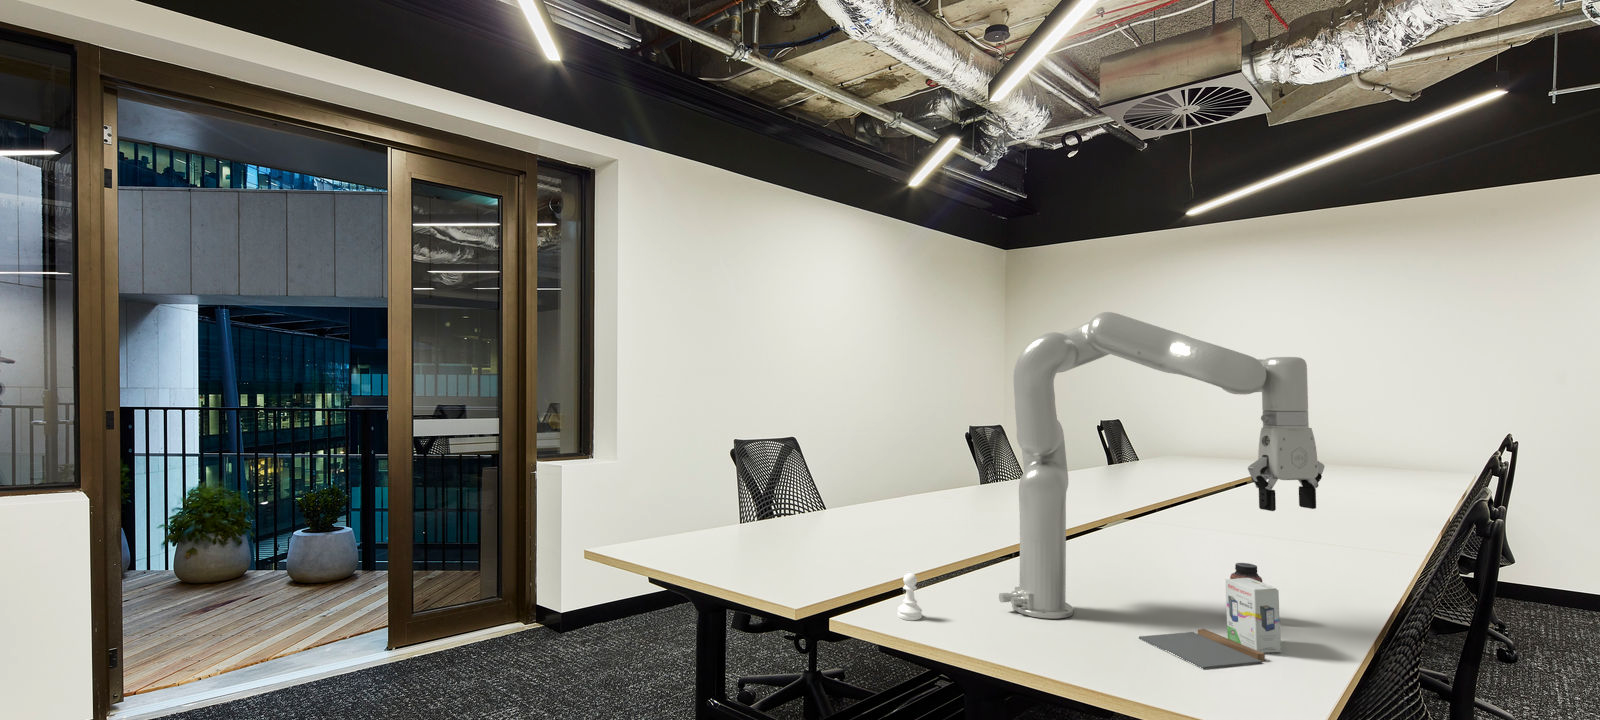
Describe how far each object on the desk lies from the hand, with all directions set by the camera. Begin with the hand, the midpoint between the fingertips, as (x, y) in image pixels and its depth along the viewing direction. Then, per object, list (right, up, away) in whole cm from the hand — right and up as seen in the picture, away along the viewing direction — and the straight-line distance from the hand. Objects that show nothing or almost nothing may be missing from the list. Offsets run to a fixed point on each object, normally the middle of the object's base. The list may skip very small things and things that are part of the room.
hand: (1287, 508), depth 146 cm
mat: (-21, -25, -7) cm, 33 cm away
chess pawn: (-72, -25, +11) cm, 77 cm away
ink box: (-9, -25, -3) cm, 27 cm away
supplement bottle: (0, -26, +14) cm, 29 cm away
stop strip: (-14, -25, -5) cm, 29 cm away
